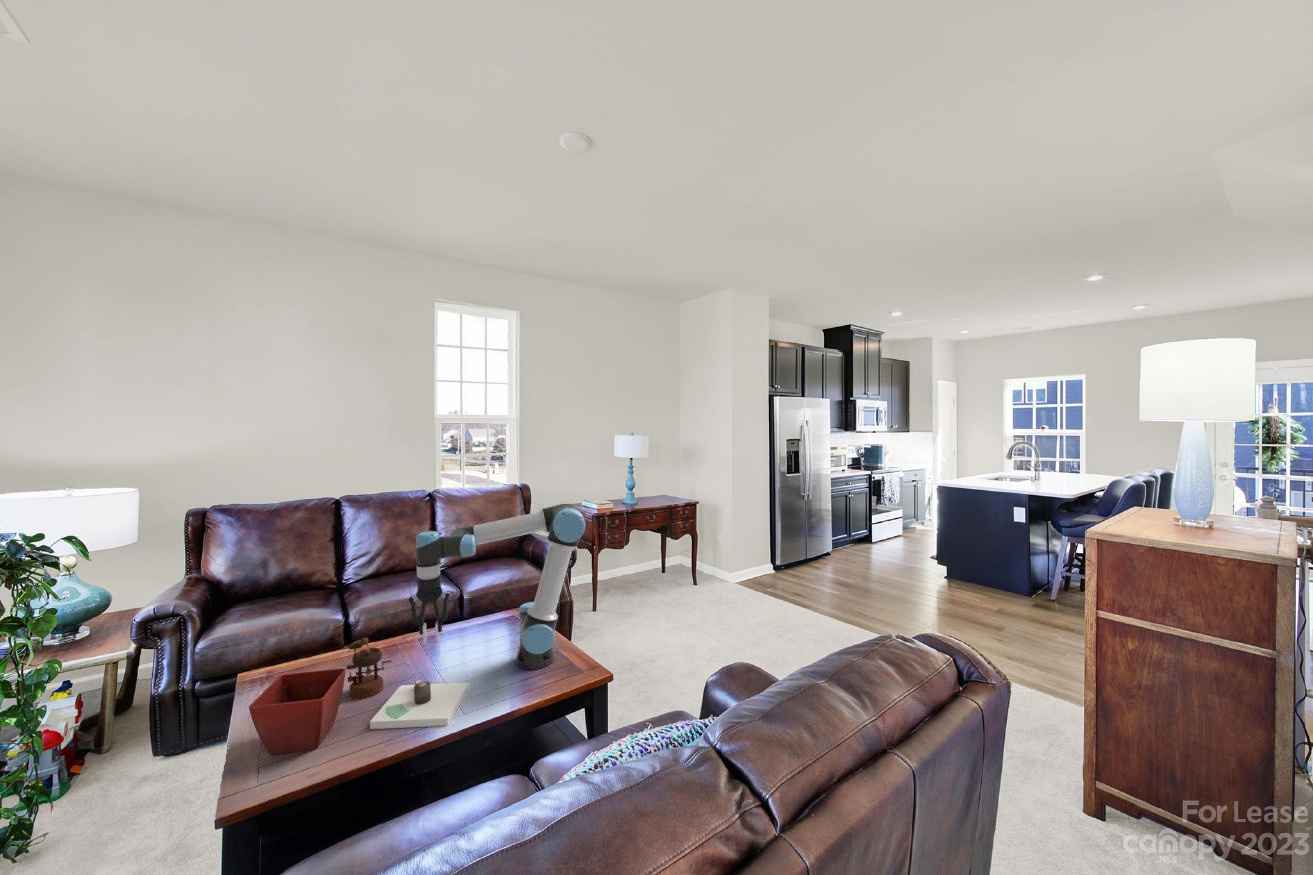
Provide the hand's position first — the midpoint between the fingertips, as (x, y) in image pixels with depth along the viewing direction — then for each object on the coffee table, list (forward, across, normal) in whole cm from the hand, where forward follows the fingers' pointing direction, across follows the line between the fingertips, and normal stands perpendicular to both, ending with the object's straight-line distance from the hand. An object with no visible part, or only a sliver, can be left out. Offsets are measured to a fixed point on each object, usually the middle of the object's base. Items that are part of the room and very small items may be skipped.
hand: (431, 641), depth 183 cm
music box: (+19, +22, -10) cm, 31 cm away
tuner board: (+19, +2, +9) cm, 21 cm away
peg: (+16, +3, +5) cm, 17 cm away
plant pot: (+19, +35, +15) cm, 43 cm away
